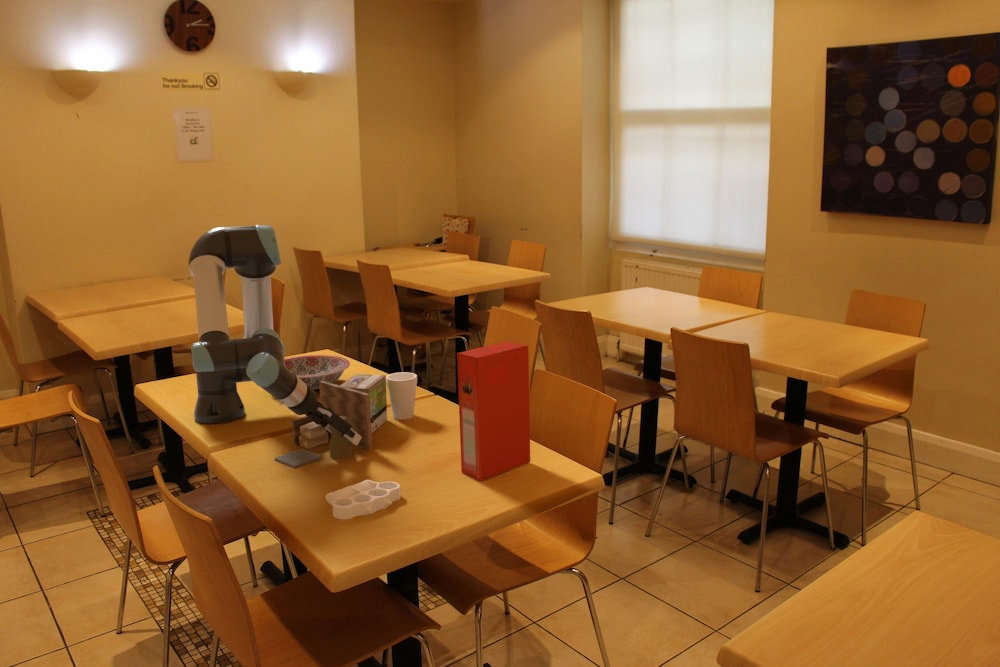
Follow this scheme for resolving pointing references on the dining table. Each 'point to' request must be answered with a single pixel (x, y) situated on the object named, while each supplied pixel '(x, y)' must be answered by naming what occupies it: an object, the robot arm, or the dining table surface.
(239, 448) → the dining table surface
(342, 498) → the white flat holed block
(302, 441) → the offcut lower
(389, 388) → the foam cup
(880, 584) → the dining table surface
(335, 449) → the olive brown peg
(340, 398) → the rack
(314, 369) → the ceramic bowl
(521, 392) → the file binder
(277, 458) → the coaster
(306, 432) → the offcut upper
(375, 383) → the tea box
